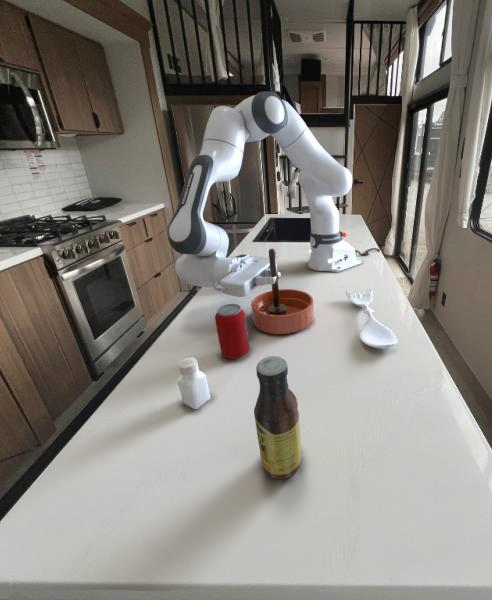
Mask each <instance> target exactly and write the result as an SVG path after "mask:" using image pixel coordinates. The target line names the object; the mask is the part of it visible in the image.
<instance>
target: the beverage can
mask: <svg viewBox="0 0 492 600" xmlns="http://www.w3.org/2000/svg"><path fill="white" fill-rule="evenodd" d="M214 322H215V326H216V333H217V337H218V344H219V347H220V353H221V355H222V356H223V357H224V358H227V359H239V358H241V357H244V356H245V355H246V354H247V353H248V352H249V350H250V341H249V333H248V326H247V320H246V314H245V311H244V310H243V309H242V307H241V305H239V304H236V303H227V304H223V305H221V306H219V307H218V308H217V309H216V313H215V315H214Z"/></svg>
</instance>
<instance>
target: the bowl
mask: <svg viewBox="0 0 492 600" xmlns="http://www.w3.org/2000/svg"><path fill="white" fill-rule="evenodd" d="M279 298H280V304H284V305H285V306H286V308H287V314H286V315H268V307H269V306H270V305H273V294H272V290H270V291H266V292H263V293H261V294H259V295H257V296H256V297H254V298H253V299H252V300H251V303H250V307H251V308H250V309H251V315H252V322H253V325H254V326H255V327H256V329H258V330H260V331H262V332H264V333H267V334H271V335H289V334H294V333H297V332H300V331H303V330H304V329H306V328H307V327H308V326H310V324H312V322H313V320H314V319H315V318H314V317H315V316H314V298H313V297H312V295H311V294H310V293H308V292H307V291H303V290H300V289H292V288H281V289H280V288H279Z"/></svg>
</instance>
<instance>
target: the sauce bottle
mask: <svg viewBox="0 0 492 600" xmlns="http://www.w3.org/2000/svg"><path fill="white" fill-rule="evenodd" d="M288 368H289V367H288V362H287V360H286V359H284V358H283V357H282V356H281V357H280V356H276V355H271V356H266V357H263V358H262V359H261V360H260V361H259V362H257V365H256V367H255V369H256V377H257V379H258V383H259V392H258V395H257V399H256V402H255V405H254V409H253V415H254V422H255V428H256V429H255V430H256V435H257V441H258V447H259V448H258V449H259V454H260V461H261V465H262V467H263V469H264V471H265V473H266V474H267V475H268V476H269V477H271V478H272V479H273V478H274V479H278V480H283V479H288V478H289V477H291V476H293V475H294V474H296V473H297V472H298V470H299V469H300V465H301V460H302V443H301V429H300V427H301V426H300V415H299V408H298V407H299V406H298V405H299V404H298V400H297V396H296V395H295V393H294V392H293V390H291V389H290V388H289V383H288V374H289V369H288Z"/></svg>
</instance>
